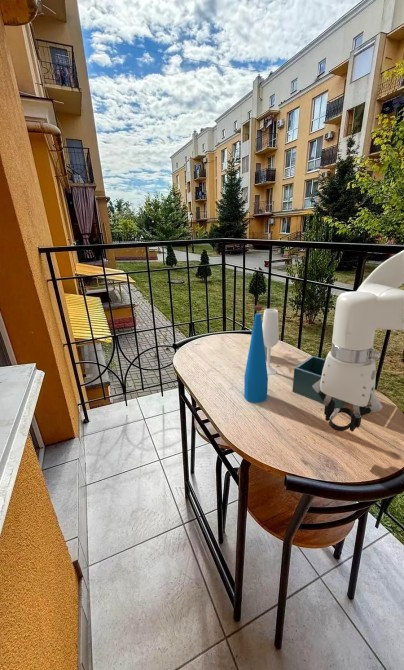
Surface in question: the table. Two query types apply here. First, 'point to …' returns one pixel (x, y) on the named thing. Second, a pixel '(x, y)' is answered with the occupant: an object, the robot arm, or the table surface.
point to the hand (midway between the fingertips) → (341, 422)
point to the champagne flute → (270, 334)
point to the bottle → (256, 365)
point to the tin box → (311, 380)
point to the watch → (334, 414)
